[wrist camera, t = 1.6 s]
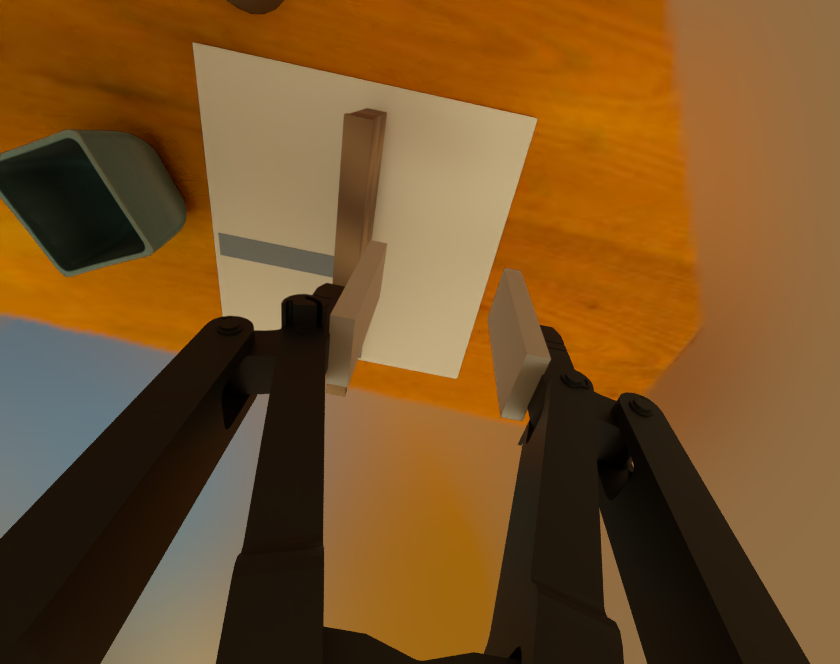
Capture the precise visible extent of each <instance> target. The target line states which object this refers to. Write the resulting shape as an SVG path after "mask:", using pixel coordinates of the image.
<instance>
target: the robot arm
mask: <svg viewBox="0 0 840 664" xmlns="http://www.w3.org/2000/svg"><path fill="white" fill-rule="evenodd" d="M387 244H388V243H383V242H378V241H373V240H370V242H369V244H368V246H367V248H366V249H365V251H364V253H363V255H362V257H361V259H360V260H359V262H358V264H357V266H356V268H355V270H354V272H353V273H352V275H351V277H350V279H349V281H348V283H347V285H346V286H340V285H335V284H330V283H325V284H323V285H321V286H319V287H317V289H316V290H315V292H314V293H313V295H309V294H296V295H292V296H289V297H287V298H285V299H284V300H283V301H282V303H281V325H282V327H281V329H278V330H254V326H253V323H252V322H251V321H249V320H248V319H246V318H243V317H240V316H224V317H219V318H216V319H213V320H212V321H210V322H209V323H207V324H206V325H205V326H204V327H203V328H202V329H201V331H200V332H199V333H198V334H197V335H196V336H195V337H194V338H193V339H192V340H191V341H190V342H189V343H188V344H187V345H186V346H185V347H184V348H183V349H182V350H181V351H180V352H179V353H178V354H177V355H176V357H175V358H174V359H173V360H172V361H171V362H170V363H169V364H168V365H167V366H166V367H165V368H164V369H163V370H162V371H161V372H160V373H159V374H158V375H157V376H156V377H155V378H154V380H152V382H151V383H150V384H149V385H148V386H147V387H146V388H145V389H144V390H143V391H142V392H141V393H140V394H139V395H138V396H137V398H135V399H134V400H133V401H132V402H131V403H130V405H128V407H127V408H126V409H125V410H124V411H123V412H122V413H121V414H120V415H119V416H118V417H117V418H116V419H115V420H114V421H113V422H112V423H111V424H110V425H109V426H108V427H107V428H106V429H105V430H104V432H102V434H101V435H100V436H99V437H98V438H97V439H96V440H95V441H94V442H93V443H92V444H91V445H90V446H89V447H88V448H87V449H86V450H85V451H84V452H83V454H81V456H80V457H78V459H77V460H76V461H75V462H74V463H73V464H72V465H71V466H70V467H69V468H68V469H67V470H66V471H65V472H64V473H63V474H62V475H61V476H60V477H59V478H58V479H57V480H56V481H55V482H54V483H53V485H52V486H51V487H50V488H49V489H48V490H47V491H46V492H45V493H44V494H43V495H42V496H41V497H40V498H39V499H38V500H37V501H36V502H35V503H34V504H33V505H32V507H31V508H30V509H29V510H28V511H27V512H26V513H25V514H24V515H23V516H22V517H21V518H20V519H19V520H18V521H17V522H16V523H15V524H14V525H13V526H12V527H11V528H10V529H9V530H8V532H6V534H4V536H3V537H2V538H1V539H0V664H100V663H101V661H102V660H103V658H104V656H105V655H106V653H107V651H108V650H109V648H110V646H111V645H112V643H113V641H114V639H115V638H116V636H117V634H118V633H119V631H120V629H121V628H122V626H123V624H124V622H125V621H126V619H127V617H128V616H129V614H130V612H131V610H132V609H133V607H134V605H135V604H136V602H137V600H138V598H139V596H140V595H141V593H142V591H143V590H144V588H145V586H146V585H147V583H148V581H149V580H150V578H151V576H152V575H153V573H154V571H155V569H156V568H157V566H158V564H159V563H160V561H161V559H162V557H163V556H164V554H165V552H166V551H167V549H168V547H169V545H170V544H171V542H172V540H173V538H174V537H175V535H176V533H177V532H178V530H179V528H180V527H181V525H182V523H183V521H184V519H185V518H186V516H187V515H188V513H189V511H190V509H191V508H192V506H193V504H194V503H195V501H196V499H197V498H198V496H199V494H200V492H201V491H202V489H203V487H204V486H205V484H206V482H207V480H208V479H209V477H210V475H211V474H212V472H213V470H214V469H215V467H216V465H217V463H218V462H219V460H220V458H221V457H222V455H223V453H224V451H225V450H226V448H227V446H228V445H229V443H230V441H231V439H232V438H233V436H234V434H235V433H236V431H237V429H238V428H239V426H240V424H241V422H242V420H243V419H244V417H245V416H246V414H247V412H248V410H249V409H250V407H251V405H252V403H253V402H254V400H255V398H256V396H257V394H270V395H269V401H268V407H267V413H266V418H265V424H264V431H263V435H262V441H261V447H260V453H259V458H258V464H257V470H256V475H255V482H254V487H253V492H252V499H251V504H250V510H249V516H248V521H247V527H246V533H245V538H244V543H243V548H242V551H241V553H240V554H239V555H238V556H237V559H236V562H235V566H234V570H233V575H232V580H231V585H230V590H229V596H228V601H227V606H226V612H225V617H224V622H223V628H222V634H221V639H220V644H219V649H218V655H217V660H216V664H624V660H623V646H622V640H621V634H620V630H619V629H618V626H617V624H616V622H615V621H613V620H611V619H610V618H608V617H607V615H606V613H605V609H604V598H603V597H604V596H603V575H602V555H601V534H600V514H599V508H600V511H601V514H602V517H603V521H604V524H605V527H606V530H607V534H608V537H609V540H610V543H611V547H612V550H613V553H614V557H615V560H616V563H617V566H618V569H619V573H620V576H621V579H622V583H623V586H624V589H625V592H626V595H627V599H628V602H629V605H630V609H631V612H632V615H633V618H634V622H635V625H636V628H637V631H638V635H639V638H640V641H641V645H642V648H643V651H644V654H645V657H646V661H647V664H810V663H809V661H808V659H807V657H806V656H805V654H804V653H803V651H802V649H801V647H800V646H799V644H798V642H797V640H796V639H795V637H794V636H793V634H792V632H791V630H790V629H789V627H788V625H787V623H786V622H785V620H784V618H783V617H782V615H781V613H780V612H779V610H778V608H777V606H776V605H775V603H774V601H773V600H772V598H771V596H770V595H769V593H768V591H767V589H766V588H765V586H764V584H763V583H762V581H761V579H760V578H759V576H758V574H757V572H756V571H755V569H754V567H753V566H752V564H751V562H750V561H749V559H748V557H747V555H746V554H745V552H744V550H743V549H742V547H741V545H740V544H739V542H738V540H737V538H736V537H735V535H734V533H733V532H732V530H731V528H730V527H729V525H728V523H727V521H726V520H725V518H724V516H723V515H722V513H721V511H720V510H719V508H718V506H717V505H716V503H715V501H714V500H713V498H712V496H711V494H710V493H709V491H708V489H707V487H706V486H705V484H704V482H703V481H702V479H701V477H700V476H699V474H698V472H697V470H696V469H695V467H694V465H693V464H692V462H691V460H690V458H689V457H688V455H687V453H686V452H685V450H684V448H683V447H682V445H681V443H680V442H679V440H678V438H677V436H676V435H675V433H674V431H673V430H672V428H671V426H670V425H669V423H668V421H667V419H666V418H665V416H664V414H663V413H662V411H661V410H660V409H659V408H658V406H657V405H655V404H654V403H653V402H652V401H651V400H649V399H648V398H645V397H644V396H641V395H638V394H635V393H627V392H626V393H623V394H621V395H620V397H619V398H618V400H617V401H615V400H612V399H610V398H607V397H605V396H602V395H600V394H598V393H596V392H594V388H593V385H592V382H591V381H590V380H589V379H588V378H587V377H586V376H585V375H583V374H582V373H580V372H578V371H576V370H575V369H574V367H573V364H572V362H571V360H570V357H569V355H568V352H567V350H566V347H565V345H564V343H563V340H562V338H561V336H560V335H559V333H558V332H557V331H556V330H555V329H554V328H553V327H548V326H543V325H539V322H538V319H537V316H536V313H535V310H534V307H533V304H532V302H531V299H530V296H529V293H528V290H527V287H526V284H525V281H524V278H523V275H522V272H521V271H518V270H514V269H509V268H504V271H503V274H502V277H501V280H500V283H499V286H498V289H497V292H496V295H495V298H494V301H493V304H492V307H491V310H490V313H489V316H488V326H489V333H490V341H491V348H492V356H493V364H494V371H495V379H496V386H497V394H498V401H499V409H500V417H503V418H509V419H514V420H519V421H522V420H523V418H524V416H525V414H526V412H527V409H528V412H529V416H530V420H529V422H528V424H527V426H526V429H525V431H524V433H523V435H522V437H521V439H520V441H519V443H518V445H522V443H523V445H522V451H521V457H520V462H519V468H518V474H517V480H516V486H515V491H514V497H513V503H512V509H511V515H510V521H509V527H508V532H507V538H506V544H505V550H504V556H503V562H502V568H501V573H500V580H499V585H498V590H497V597H496V602H495V608H494V614H493V620H492V625H491V631H490V636H489V640H488V644H487V646H486V649H485V652H484V654H480V653H468V654H461V655H456V656H450V657H444V658H438V659H432V660H426V661H418V660H416V659H413V658H411V657H409V656H407V655H406V654H404V653H402V652H400V651H398V650H396V649H394V648H392V647H390V646H388V645H386V644H384V643H383V642H381V641H379V640H377V639H375V638H373V637H371V636H369V635H367V634H363V633H357V632H352V631H346V630H340V629H334V628H328V627H323V612H324V601H323V600H324V547H323V493H324V420H325V419H324V417H325V413H324V411H325V374H326V383H327V384H333V385H338V386H343V387H348V385H349V382H350V380H351V377H352V374H353V371H354V368H355V365H356V363H357V360H358V357H359V354H360V351H361V349H362V346H363V343H364V340H365V337H366V334H367V332H368V329H369V326H370V323H371V320H372V317H373V315H374V312H375V309H376V306H377V303H378V301H379V298H380V292H381V285H382V278H383V271H384V264H385V257H386V250H387ZM632 462H633V464H634V468H633V466H632Z"/></svg>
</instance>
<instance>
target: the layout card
mask: <svg viewBox="0 0 840 664" xmlns="http://www.w3.org/2000/svg"><path fill="white" fill-rule="evenodd" d="M192 43H193V42H192ZM193 52H194V61H195V70H196V79H197V88H198V97H199V106H200V115H201V124H202V133H203V142H204V151H205V160H206V169H207V178H208V188H209V197H210V206H211V215H212V224H213V233H214V242H215V251H216V260H217V269H218V278H219V287H220V296H221V305H222V314H223V317H224V316H240V317H243V318H246V319H248V320H249V321H251V322H252V323H253V326H254V330H278V329H281V327H282V325H281V303H282V301H283V300H284V299H285V298H287V297H289V296H292V295H296V294H309V295H313V293H314V292H315V290H316V289H317V287H319V286H321V285H323V284H325V283H330V284H332V283H333V268H334V253H335V239H336V224H337V209H338V194H339V180H340V165H341V150H342V135H343V121H344V114H345V113H349V114H350V113H353V112H356V111H359V110H363V109H366V108H370V109H374V110H379V111H383V112H387V117H386V125H385V134H384V142H383V150H382V158H381V167H380V175H379V183H378V191H377V200H376V208H375V216H374V224H373V233H372V240H373V241H378V242H383V243H388V244H387V250H386V257H385V264H384V271H383V278H382V285H381V292H380V298H379V301H378V303H377V306H376V309H375V312H374V315H373V317H372V320H371V323H370V326H369V329H368V332H367V334H366V337H365V340H364V343H363V346H362V349H361V351H360V354H359V357H358V360H363V361H368V362H373V363H379V364H384V365H389V366H394V367H399V368H404V369H409V370H414V371H420V372H425V373H430V374H435V375H440V376H445V377H450V378H455V379H457V377H458V374H459V371H460V368H461V364H462V361H463V358H464V355H465V351H466V348H467V345H468V342H469V339H470V335H471V332H472V329H473V326H474V322H475V319H476V316H477V313H478V310H479V306H480V303H481V300H482V297H483V293H484V290H485V287H486V284H487V281H488V277H489V274H490V271H491V268H492V264H493V261H494V258H495V255H496V252H497V248H498V245H499V242H500V239H501V235H502V232H503V229H504V226H505V223H506V219H507V216H508V213H509V210H510V206H511V203H512V200H513V197H514V194H515V190H516V187H517V184H518V181H519V177H520V174H521V171H522V168H523V165H524V161H525V158H526V155H527V152H528V148H529V145H530V142H531V139H532V136H533V132H534V129H535V126H536V123H537V118H535V117H531V116H526V115H522V114H517V113H512V112H508V111H503V110H499V109H494V108H490V107H485V106H481V105H476V104H472V103H467V102H463V101H458V100H454V99H449V98H445V97H440V96H436V95H431V94H426V93H422V92H417V91H413V90H408V89H404V88H399V87H395V86H390V85H386V84H381V83H377V82H372V81H368V80H363V79H359V78H354V77H350V76H345V75H340V74H336V73H331V72H327V71H322V70H318V69H313V68H309V67H304V66H300V65H295V64H291V63H286V62H282V61H277V60H273V59H268V58H264V57H259V56H254V55H250V54H245V53H241V52H236V51H232V50H227V49H223V48H218V47H214V46H209V45H205V44H200V43H193Z"/></svg>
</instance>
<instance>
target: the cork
mask: <svg viewBox="0 0 840 664" xmlns="http://www.w3.org/2000/svg"><path fill="white" fill-rule="evenodd" d="M227 1H229V2H230V3H231V4H233V5H234V6H236V7H237V8H239V9H241V10H244V11H246V12H248V13H251V14H266V13H268V12H270V11H272V10H275V9H276V8H277V7H278V6H279V5H280V4H281V3H282V2H283V1H284V0H227Z"/></svg>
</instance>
